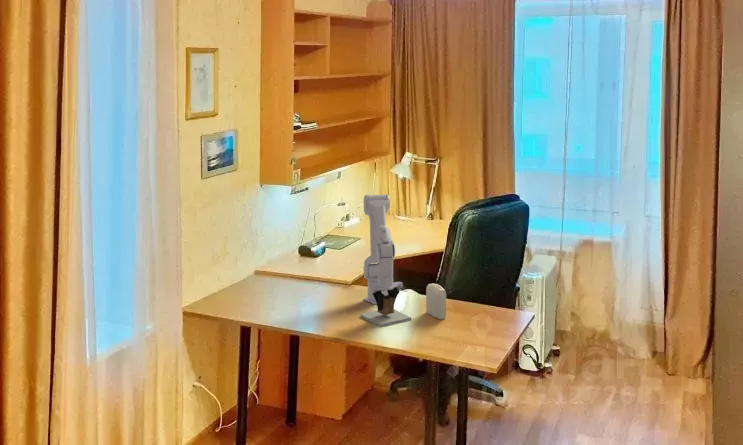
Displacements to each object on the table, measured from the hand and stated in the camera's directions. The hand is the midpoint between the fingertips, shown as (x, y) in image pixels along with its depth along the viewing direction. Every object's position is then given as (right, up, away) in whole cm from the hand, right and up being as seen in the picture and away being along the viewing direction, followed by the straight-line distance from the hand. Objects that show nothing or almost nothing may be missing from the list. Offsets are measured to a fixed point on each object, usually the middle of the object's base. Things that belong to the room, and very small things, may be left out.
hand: (385, 308), depth 321 cm
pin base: (0, -4, +1) cm, 4 cm away
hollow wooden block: (0, -2, 0) cm, 2 cm away
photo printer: (+19, -3, +4) cm, 20 cm away
